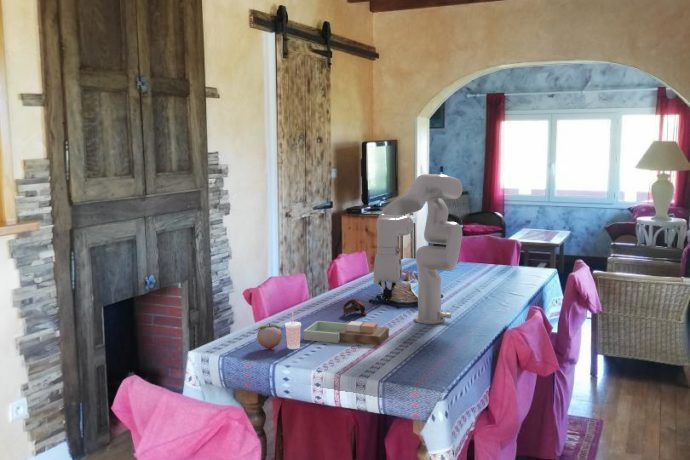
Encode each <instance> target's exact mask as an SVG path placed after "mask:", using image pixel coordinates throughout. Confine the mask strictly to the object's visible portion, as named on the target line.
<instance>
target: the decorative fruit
mask: <svg viewBox="0 0 690 460" xmlns="http://www.w3.org/2000/svg"><path fill="white" fill-rule="evenodd" d="M282 329H283V327H281V325H279V324H272V325H271V323H270V322H269V323H268V325H261V326H259V327H258V328H257V329H256V331H257V335H256V340H257V342H258V344H260V346H261V347H263V348H265V349H268V350H272V349H274V348H275V347H278V345H280V343H281V341H282V339H283V334H282V333H283V332H282Z"/></svg>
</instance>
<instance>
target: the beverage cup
mask: <svg viewBox="0 0 690 460" xmlns="http://www.w3.org/2000/svg"><path fill="white" fill-rule="evenodd" d="M291 316H292V318H291V321H287V322H285V323H284V326H285V327H284V328H285V334H286V336H285V337H286V343H287V344H286V346H287V349H289V350H297V349H300V348H301V327H302V322H300V321H294V310H293V309H292V310H291Z"/></svg>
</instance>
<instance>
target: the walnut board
mask: <svg viewBox="0 0 690 460" xmlns="http://www.w3.org/2000/svg"><path fill="white" fill-rule="evenodd" d="M389 330H390V328H389V327H383V326H377V330H376V331H375V332H374V333H366V332H361V331H360V332H354V331H347V327H346V328H345V329H344V330H342V331H341V332H340V333H339V342H338V343H349V344H357V345H367V346H368V345H369V346H378V347H381V346H382V344H383V343H384V342H386V340H387V339H388V338H389V336H390V331H389Z"/></svg>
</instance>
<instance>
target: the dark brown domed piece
mask: <svg viewBox="0 0 690 460" xmlns="http://www.w3.org/2000/svg"><path fill="white" fill-rule="evenodd" d="M349 305H351V306H349ZM348 306H349V307H348ZM342 309H343V315H344V316H346V315H348V314H351V313H356V312H360V313H361V314H364V317H367V315H368V314H367V309H366V307H365V305H364V303H362V301H361V300H359V299H357V298H351V299H349V300H347V301H346V302H344V304H343V307H342Z"/></svg>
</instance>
